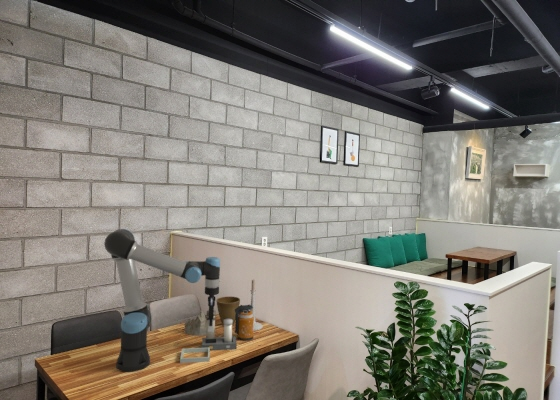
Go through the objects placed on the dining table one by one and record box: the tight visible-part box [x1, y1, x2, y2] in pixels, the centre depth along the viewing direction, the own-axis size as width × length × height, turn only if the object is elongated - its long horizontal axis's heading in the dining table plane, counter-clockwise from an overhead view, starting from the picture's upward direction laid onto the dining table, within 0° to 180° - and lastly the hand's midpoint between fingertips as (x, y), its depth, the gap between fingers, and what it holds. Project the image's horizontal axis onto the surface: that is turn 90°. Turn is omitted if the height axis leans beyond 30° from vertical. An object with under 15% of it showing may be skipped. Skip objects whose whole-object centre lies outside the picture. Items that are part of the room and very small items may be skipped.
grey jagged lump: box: [184, 310, 217, 337], centre depth 226 cm, size 16×16×15 cm
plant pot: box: [215, 296, 241, 327], centre depth 241 cm, size 15×15×16 cm
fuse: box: [223, 319, 233, 342], centre depth 205 cm, size 5×5×14 cm
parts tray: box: [179, 347, 211, 365], centre depth 190 cm, size 14×12×3 cm
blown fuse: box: [205, 309, 217, 339], centre depth 203 cm, size 5×5×14 cm
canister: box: [233, 304, 254, 342], centre depth 216 cm, size 9×11×20 cm
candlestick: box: [250, 279, 263, 332], centre depth 237 cm, size 13×13×30 cm
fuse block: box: [201, 336, 238, 351], centre depth 204 cm, size 18×10×4 cm, turn 100°
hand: (210, 329), depth 203 cm, fingers closed on blown fuse, 4 cm apart
